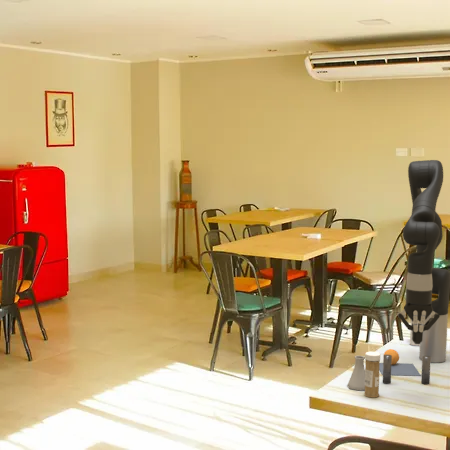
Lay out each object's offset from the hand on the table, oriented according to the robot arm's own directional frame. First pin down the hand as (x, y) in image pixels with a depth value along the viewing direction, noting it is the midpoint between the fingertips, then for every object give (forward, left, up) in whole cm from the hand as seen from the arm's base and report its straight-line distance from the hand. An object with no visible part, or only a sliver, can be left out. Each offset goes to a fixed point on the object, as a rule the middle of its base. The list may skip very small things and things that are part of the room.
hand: (416, 343), depth 217 cm
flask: (-8, -16, -17) cm, 25 cm away
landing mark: (-27, 0, -17) cm, 32 cm away
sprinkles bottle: (-1, -13, -17) cm, 22 cm away
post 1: (-13, -6, -17) cm, 22 cm away
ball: (-33, -1, -14) cm, 36 cm away
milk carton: (-60, +15, -17) cm, 64 cm away
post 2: (-13, +6, -17) cm, 22 cm away
